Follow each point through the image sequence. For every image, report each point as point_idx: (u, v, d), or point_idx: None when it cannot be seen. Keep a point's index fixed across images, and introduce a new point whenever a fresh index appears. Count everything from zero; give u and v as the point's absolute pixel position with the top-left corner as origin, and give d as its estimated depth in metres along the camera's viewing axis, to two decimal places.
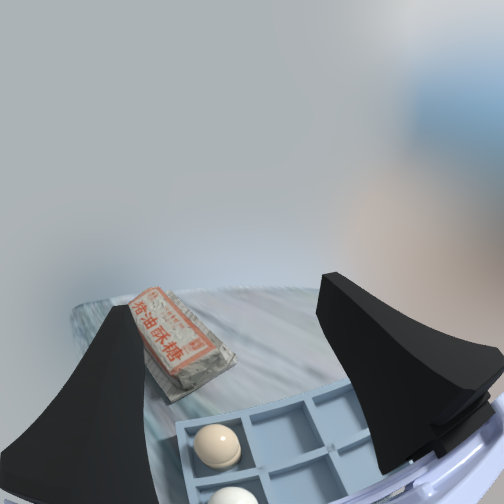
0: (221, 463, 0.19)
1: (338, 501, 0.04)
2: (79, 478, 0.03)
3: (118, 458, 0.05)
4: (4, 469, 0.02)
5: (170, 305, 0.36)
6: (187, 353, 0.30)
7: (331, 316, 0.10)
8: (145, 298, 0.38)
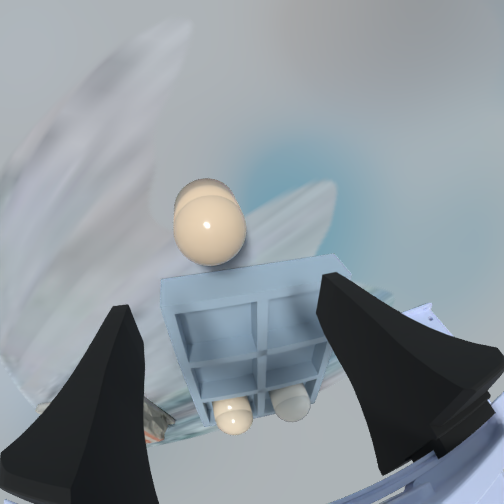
0: (252, 415, 0.26)
1: (338, 501, 0.04)
2: (79, 478, 0.03)
3: (118, 458, 0.05)
4: (4, 468, 0.02)
5: None
6: None
7: (331, 316, 0.10)
8: None
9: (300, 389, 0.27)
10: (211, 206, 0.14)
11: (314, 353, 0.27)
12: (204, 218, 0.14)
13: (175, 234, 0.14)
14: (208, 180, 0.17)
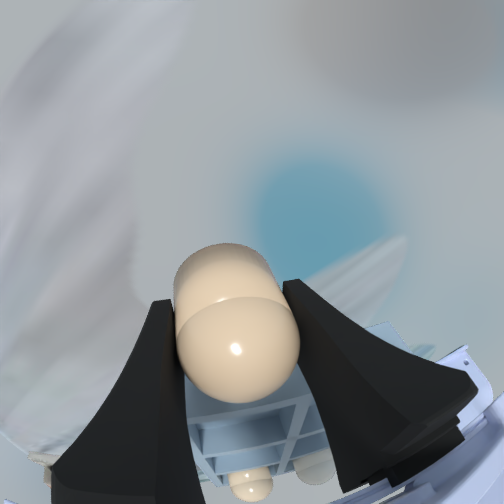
0: (272, 481, 0.20)
1: (338, 501, 0.04)
2: (158, 482, 0.03)
3: (177, 457, 0.05)
4: (62, 484, 0.03)
5: None
6: None
7: None
8: None
9: (326, 453, 0.21)
10: (246, 327, 0.07)
11: None
12: (235, 352, 0.07)
13: (180, 362, 0.08)
14: (229, 249, 0.10)
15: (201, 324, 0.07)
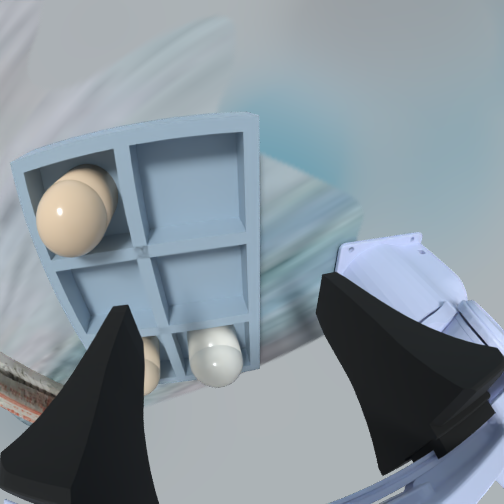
0: (159, 370, 0.19)
1: (338, 501, 0.04)
2: (79, 478, 0.03)
3: (118, 458, 0.05)
4: (4, 468, 0.02)
5: (7, 400, 0.18)
6: None
7: (331, 316, 0.10)
8: None
9: (226, 337, 0.20)
10: (58, 191, 0.10)
11: (242, 280, 0.20)
12: (49, 204, 0.10)
13: None
14: (83, 165, 0.13)
15: (43, 194, 0.11)
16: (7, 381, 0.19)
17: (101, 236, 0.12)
